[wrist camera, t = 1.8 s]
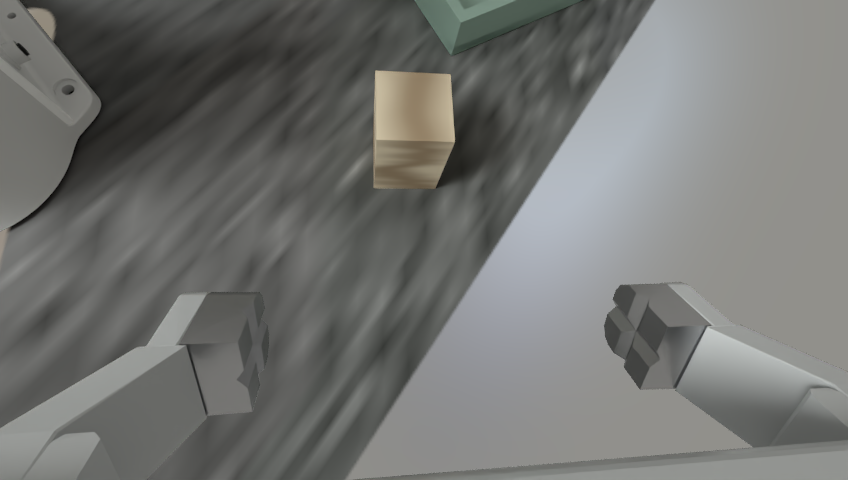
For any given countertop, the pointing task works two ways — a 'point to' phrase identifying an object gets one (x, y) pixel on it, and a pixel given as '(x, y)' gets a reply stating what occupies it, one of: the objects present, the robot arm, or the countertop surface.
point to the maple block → (411, 129)
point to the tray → (483, 18)
